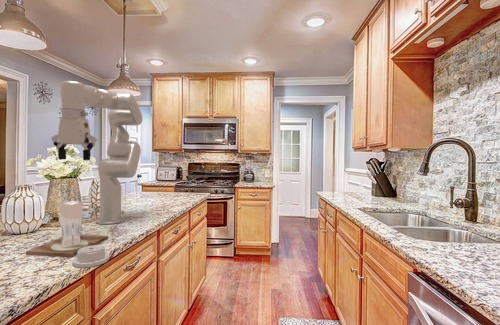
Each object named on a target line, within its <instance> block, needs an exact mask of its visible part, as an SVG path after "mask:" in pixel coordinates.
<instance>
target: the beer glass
mask: <svg viewBox="0 0 500 325" xmlns="http://www.w3.org/2000/svg"><path fill="white" fill-rule="evenodd" d="M58 215H59V216H58V217H59V224H60V228H61V234H62V235H61V237H62V241H61V247H74V246H78V245H80V244H81V238H80V233H81V229H82V224H83V218H84V205H83V201H82V200H69V201H63V202H60V204H59V214H58Z"/></svg>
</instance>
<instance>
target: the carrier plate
mask: <svg viewBox="0 0 500 325" xmlns="http://www.w3.org/2000/svg"><path fill="white" fill-rule="evenodd" d="M80 238H81V244H80V245H78V246H74V247H61V241H62V236H61V237H59V238H56V239H54V240H52V241H49V242H47V243H44V244H43V243H42V244H41V245H39V246H36V247H33V248H30V249H28V250H26V251H25V256H43V257H58V258H59V257H62V258H74V257H75V256H77V251H78V250H79V249H81V248H83V247H87V246H93V245H100V243H103V242H104V241H106V240H108V239H109V235H103V234H100V235H99V234H83V233H82V232H80Z"/></svg>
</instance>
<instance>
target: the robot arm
mask: <svg viewBox="0 0 500 325" xmlns="http://www.w3.org/2000/svg"><path fill="white" fill-rule="evenodd" d="M59 92H60V93H59V94H60V98H61V117H60V119H59V124H58V133H57V134H55V135H53V136H51V142H52V143H53V145H54V146H55V148H56V149H57V155H58V160H61V161H62V160H66V159H67V149H66V147H67V146H68V145H76V146H77V145H79V146H80V145H81V146H82V147H83V149H82V160H83V161H90V160H91V150H93V147H95V145H96V143H97V141H98V138H97V137H95V136H93V135H91V130H90V129H91V128H90V123H89V120H88V118H87V117H86V116H89V113H88V112H87V111H86V107H91V108H97V109H108V110H109V112H108V115H107V119H108V122H109V126H110V130H111V136H110V140H109V143H108V146H107V151H106V155H107V156H108V157H109V158H104V159H101V160H100V161H99V162H98V163H97V170H98V176H99V218H97V219H96V220H95V223H96V224H98V225H115V224H119V223H123V222H124V221H125V217H123V216H122V215H124V214H125V210H122V185H121V182H120V181H119V178H121V179H129V178H130V179H131V178H133V177H134V176H136V174H137V169H138V165H139V162H140V157H141V153H142V152H141V150H142V149H141V145H140V144H139V143H138V142H137V141H133V140H130V134H129V132H128V131H127V130H126V128H125V127H124V126H137V127H138V126H140V125H142V122H143V114H142V111H141V109H140V107H139V103H138V102H137V99H136V98H135V96H134V94H132V93H130V92H115V91H111V90H106V89H104V88H103V89H102V88H98V87H96V86H92V85H88V84H84V83H83V82H79V81H73V80H63V81H62V82H61V86H60V91H59Z"/></svg>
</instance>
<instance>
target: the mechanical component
mask: <svg viewBox="0 0 500 325" xmlns="http://www.w3.org/2000/svg"><path fill="white" fill-rule="evenodd" d="M109 260H110V254H109V252H108V253H107V252H106V246H103V245H100V244H97V245H93V246H87V247H83V248H81V249H79V250H78V251H77V255H76V257H73V259H72V266H73V267H75V268H82V269H83V268H84V269H86V268H92V267H97V266H100V265H103V264H105V263H107V262H108V261H109Z"/></svg>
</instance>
